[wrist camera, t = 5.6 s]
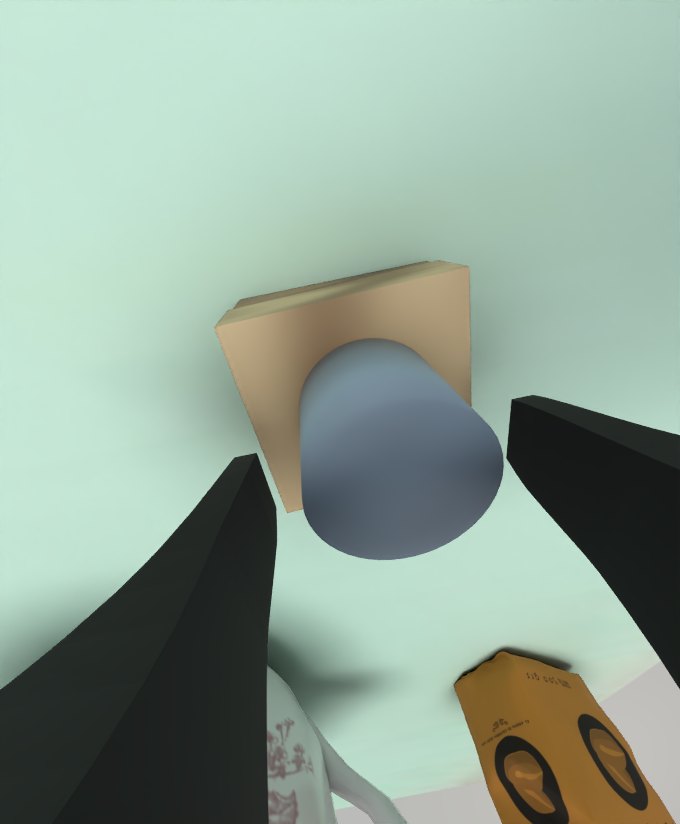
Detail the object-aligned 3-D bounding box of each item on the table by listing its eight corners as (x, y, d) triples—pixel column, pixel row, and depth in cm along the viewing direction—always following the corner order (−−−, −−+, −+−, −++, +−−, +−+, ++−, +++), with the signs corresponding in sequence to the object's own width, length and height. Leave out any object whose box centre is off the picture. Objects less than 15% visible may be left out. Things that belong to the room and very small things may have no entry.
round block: (440, 330, 11) (520, 385, 7) (432, 453, 14) (489, 544, 10) (289, 347, 11) (286, 415, 7) (308, 470, 13) (314, 572, 9)
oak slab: (438, 260, 12) (469, 266, 10) (448, 436, 16) (472, 468, 14) (228, 310, 12) (213, 327, 10) (287, 475, 16) (287, 513, 14)
